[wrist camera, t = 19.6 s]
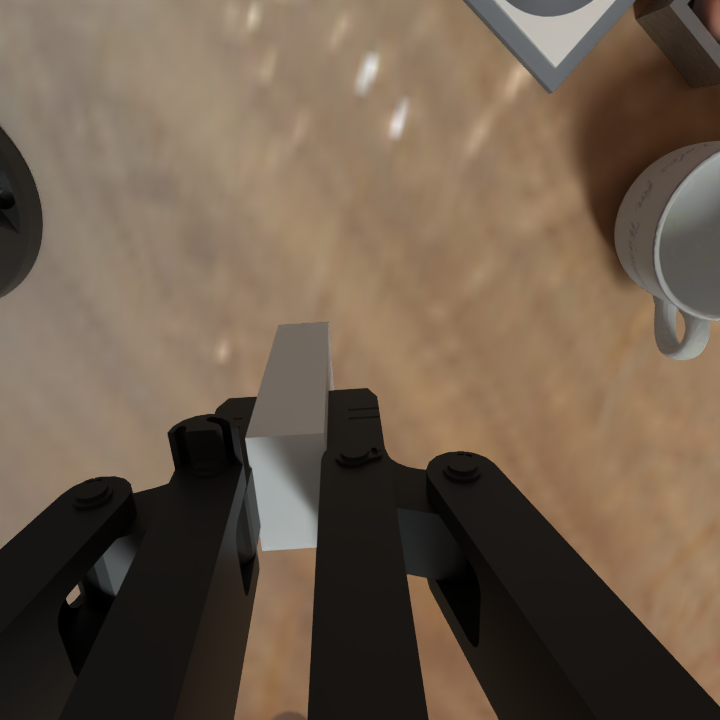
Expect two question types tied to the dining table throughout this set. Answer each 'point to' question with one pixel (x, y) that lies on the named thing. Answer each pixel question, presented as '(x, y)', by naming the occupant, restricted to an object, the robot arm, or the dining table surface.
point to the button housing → (683, 40)
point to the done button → (709, 16)
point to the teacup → (676, 243)
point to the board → (549, 31)
